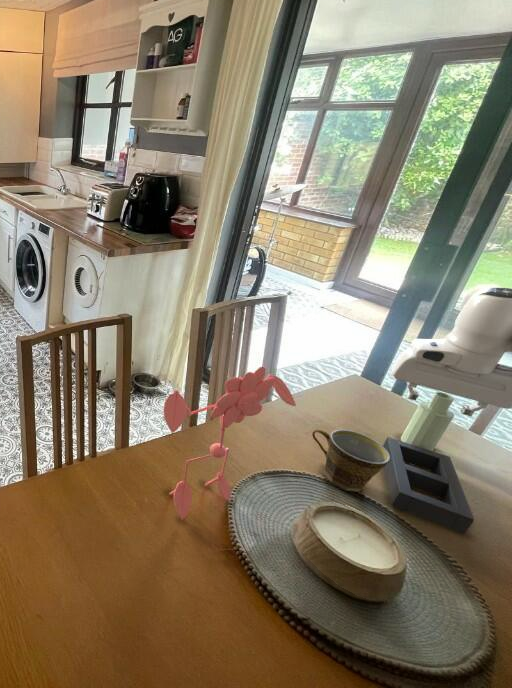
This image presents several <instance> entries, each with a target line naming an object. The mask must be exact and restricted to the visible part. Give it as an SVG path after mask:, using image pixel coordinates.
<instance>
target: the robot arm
mask: <svg viewBox="0 0 512 688" xmlns="http://www.w3.org/2000/svg"><path fill="white" fill-rule="evenodd" d="M507 352H508V353H512V288H509V287H488V288H484V289H480V290H478V291H477V292H475V293H473V294H472V295H471V296H470V297H469V299H468V300H467V301H466V303H465V304H464V305H463V307H462V308H461V310H460V312H459V313H458V315H457V317H456V318H455V320H454V327H453V329H452V330H451V331H450V332H449V333H448V334H447V335H446V336H445V338H415V339H413V340H412V341H411V344H410V348H407V349H405V350H403V351H402V352H401V353H400V354H399V355H398V357H397V358H396V360H395V361H394V363H393V364H392V367H391V369H390V370H391V374H392V376H393V378H394V379H395V380H398V381H401V382H406V385H407V388H408V391H407V394H406V399H408V400H412V401H414V402H416V401H417V399H418V398H419V397H420V396H419V392H418V391H416V390H414V389H416V388H417V387H418V386H419V387H424V388H428V389H431V390H435V391H437V392H442V393H446V394H448V395H453V396H458V397H461V398H463V399H464V398H465V399H469V400H472V401H475V402H474V403H472V404H470V405H466V404H463V405H462V408H461V409H460V414H461V415H463V416H467V417H472V416H473V415H474V414H475V412H478V411H480V410H483V409H486V408H487V407H488V405H491V406H495V407H498V408H501V409H506V410H510V409H512V366H509V365H505V364H503V363H502V364H501V363H499V362H500V361H501V359H502V357H503V356H504V355H505V353H507Z"/></svg>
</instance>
